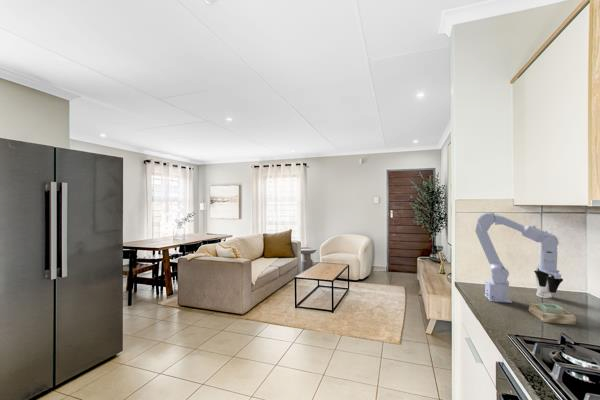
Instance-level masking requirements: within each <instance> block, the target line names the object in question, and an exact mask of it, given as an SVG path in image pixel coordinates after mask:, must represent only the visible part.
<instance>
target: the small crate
mask: <svg viewBox="0 0 600 400" xmlns="http://www.w3.org/2000/svg"><path fill="white" fill-rule="evenodd" d="M538 304H539V310H541V311H542V312H543V313H550V314H561V315H563V309H564V308H563V307H562V308H563V309H562V308H560V307H561V306H560V305H558V304H557V303H546V302H545V303H543V302H540V303H538ZM559 306H560V307H559Z"/></svg>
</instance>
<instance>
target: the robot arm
mask: <svg viewBox="0 0 600 400" xmlns="http://www.w3.org/2000/svg"><path fill="white" fill-rule="evenodd" d="M493 224H495V225H496V226H497V225H503V226H506V227H508V228H510V229H513V230H516V231H518V232H520V233H521V235H522V236H523V237H525V238H527V239H530V240H532V241H534V242H537V243H540V244H541V249H540V260H539V261H540V263H539V264H537V265H536V268H537V270H538V271H536V270H534V271H533V272H534V274H535V277H536V276H537V278H538V282H539V286H540V287H546V283H547V281H548V285H549V292H550V293H551V294H556V293H557V291H558V288H559V286H560V284H561V283H563V282H564V279H563V278H562V274H560V270H559V269H557V268H558V245H559V243H560V242H559V239H558V237H557V236H556V235H555V234H553V233H552V232H548V231H547V230H545V231H544V230H541V229H540V228H537V226H536V225H530V224H529V225H523V224H521V223H518V222H517V221H514V220H512V219H510V218H508V217H506V216H503V215H501V214H498V213H494V212H491V211H487V212H484V213H482V214H481V215H480V216H479V217H478V218H477V223H476V227H475V230H474V231H475V234H476V236H477V239H478V240H479V241H478V242H479V243H480V245H481V247H482V250H483V252H484V254H485V256H486V259H487V261H488V264H489V266H490V270H491V271H490V272H491V280H487V281H485V285H484V286H485V287H484V296H485V297H486V298H487V299H488V300H489V301H490V302H497V303H508V304H509V303H511V304H512V303H513V301H512V300H511V299H509V298H510V297H509V292H510V282H509V280H508V277H509V276H510V273H509V270H508V268H506V267H505V266H504V264H503V262H502V261H501V260H500V257H499V255H498V253H497V251H496V248H495V246H494V244H493V242H492V239H491V237H490V235H489V232H488V231H489V229H491V226H492V225H493ZM549 275H551V277H549Z"/></svg>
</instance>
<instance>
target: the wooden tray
mask: <svg viewBox="0 0 600 400" xmlns="http://www.w3.org/2000/svg"><path fill="white" fill-rule="evenodd" d="M539 304H540V303H528V311H529V312H530V313H531V314H532V315H534V317H536V318H537V319H538V320H539V321H541V322H543V323H551V324H552V323H553V324H564V325H573V326H575V325H576V322H577V316H576V315H574V314H572V313H571V312H569V311H568V310H566V309H565V308H564V307H562V306H560V305H558V306H559V307H560V308H562V309H563V315H561V314H550V313H543V312H542V311H541V310H539Z"/></svg>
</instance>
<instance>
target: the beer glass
mask: <svg viewBox="0 0 600 400" xmlns="http://www.w3.org/2000/svg"><path fill="white" fill-rule="evenodd" d="M535 271H538V270H537V267H536V270H535ZM549 277H551V275H549ZM535 281H536V287H537V290H536V293H535V295H536V296H537V297H539V298H543V299H552V293H550V292H549V285H548V281H547V283H546V287H540V286H539V282H538V278H537V276H536V275H535Z"/></svg>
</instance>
